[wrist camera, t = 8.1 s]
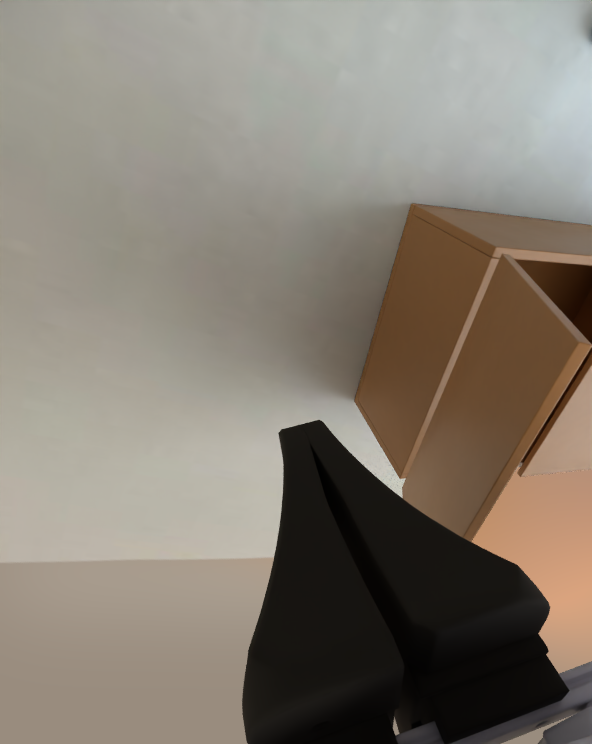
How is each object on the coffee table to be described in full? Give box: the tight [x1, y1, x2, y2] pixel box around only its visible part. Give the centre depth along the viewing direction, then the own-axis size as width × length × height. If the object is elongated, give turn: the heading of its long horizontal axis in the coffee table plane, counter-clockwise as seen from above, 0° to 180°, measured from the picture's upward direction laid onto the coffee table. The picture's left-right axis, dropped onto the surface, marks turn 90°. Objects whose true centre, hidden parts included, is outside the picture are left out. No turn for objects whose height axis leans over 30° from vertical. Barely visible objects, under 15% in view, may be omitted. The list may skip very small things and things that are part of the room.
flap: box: [402, 254, 592, 542], centre depth 15 cm, size 7×12×1 cm
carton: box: [354, 203, 592, 479], centre depth 22 cm, size 14×12×7 cm
